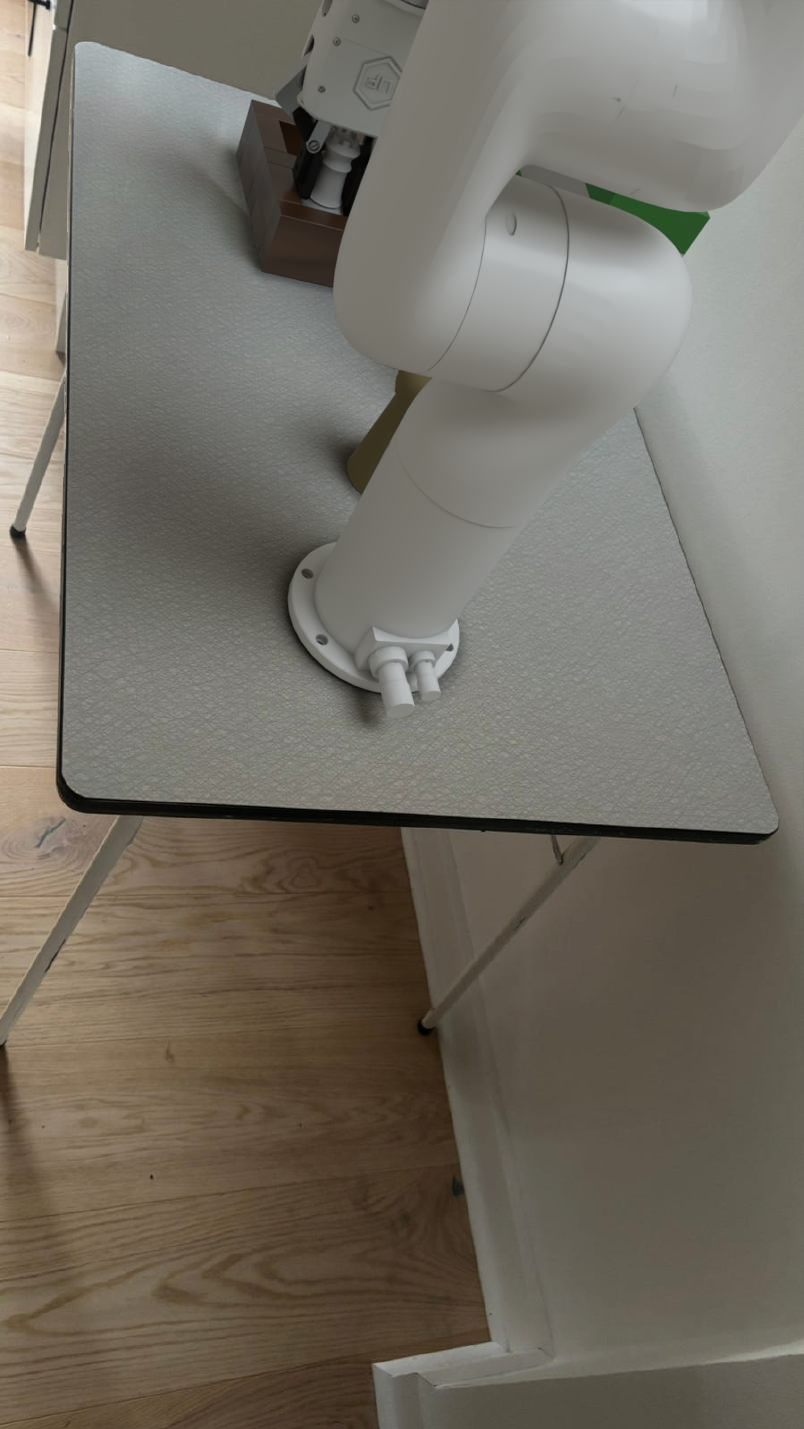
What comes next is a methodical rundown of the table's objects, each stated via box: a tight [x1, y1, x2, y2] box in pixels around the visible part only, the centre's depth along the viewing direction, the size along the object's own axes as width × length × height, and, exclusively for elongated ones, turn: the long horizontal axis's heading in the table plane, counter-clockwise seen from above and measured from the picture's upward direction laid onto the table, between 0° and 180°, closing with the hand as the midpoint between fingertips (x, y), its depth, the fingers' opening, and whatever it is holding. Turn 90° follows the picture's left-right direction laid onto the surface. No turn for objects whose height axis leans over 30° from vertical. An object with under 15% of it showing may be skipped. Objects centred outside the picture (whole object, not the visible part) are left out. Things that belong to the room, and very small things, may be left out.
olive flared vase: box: [346, 369, 432, 495], centre depth 75 cm, size 6×6×11 cm
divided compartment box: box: [235, 98, 364, 288], centre depth 93 cm, size 17×17×6 cm
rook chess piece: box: [298, 125, 360, 216], centre depth 86 cm, size 4×4×8 cm
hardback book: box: [515, 165, 711, 259], centre depth 83 cm, size 18×7×24 cm, turn 6°
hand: (324, 193), depth 87 cm, fingers closed on rook chess piece, 3 cm apart
